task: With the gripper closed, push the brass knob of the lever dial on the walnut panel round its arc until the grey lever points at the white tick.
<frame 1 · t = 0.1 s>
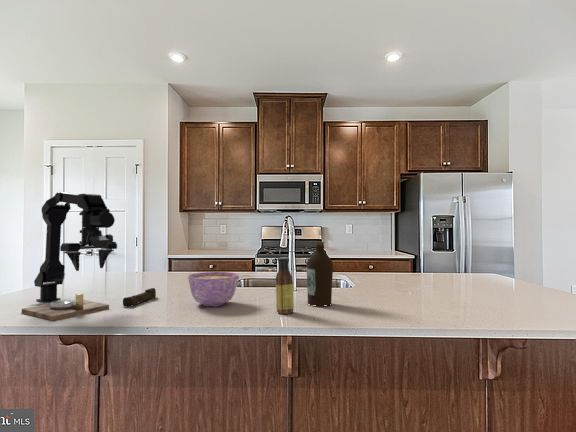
hand: (89, 269, 136), 15 cm above the countertop, tool pointing down, fingers open, 9 cm apart
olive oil: (319, 304, 146), on the countertop
sauce bottle: (284, 313, 132), on the countertop
dial panel: (66, 310, 132), on the countertop
hand tool: (140, 302, 148), on the countertop
dial: (69, 299, 132), point 4 cm above the countertop, hinge at 0.0°
bowl of food: (213, 304, 145), on the countertop
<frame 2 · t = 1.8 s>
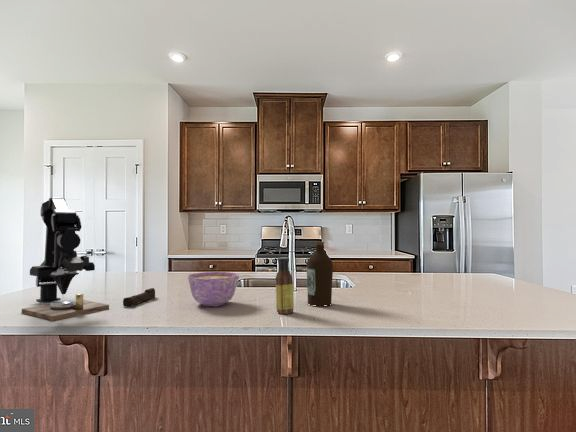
hand: (63, 294, 124), 8 cm above the countertop, tool pointing down, fingers closed
nothing on the countertop moved.
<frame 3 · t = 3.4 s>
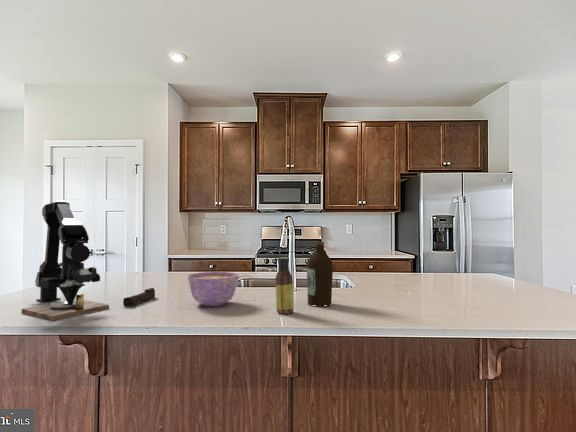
hand: (70, 305, 126), 3 cm above the countertop, tool pointing down, fingers closed
dial: (70, 299, 132), point 4 cm above the countertop, hinge at 0.7°, touching gripper
everything else where it was.
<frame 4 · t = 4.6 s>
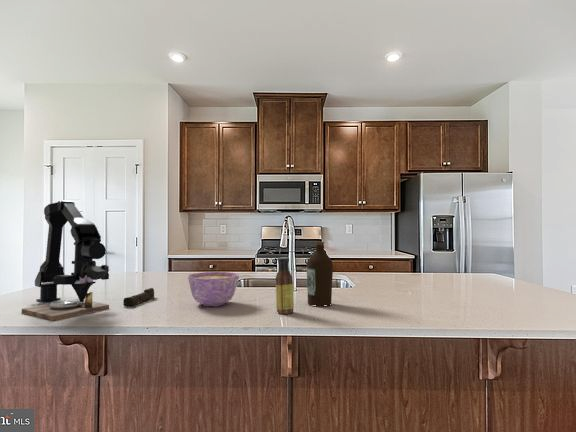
hand: (81, 302, 130), 4 cm above the countertop, tool pointing down, fingers closed
dial: (72, 299, 133), point 4 cm above the countertop, hinge at 29.8°, touching gripper
everything else where it was.
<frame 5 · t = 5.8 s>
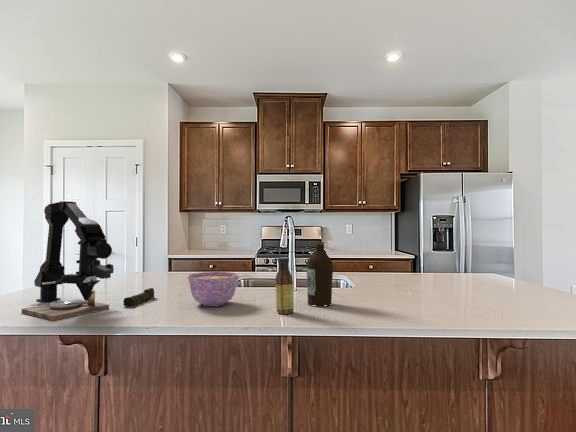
hand: (86, 300, 132), 4 cm above the countertop, tool pointing down, fingers closed
dial: (73, 298, 133), point 4 cm above the countertop, hinge at 49.9°, touching gripper
everything else where it was.
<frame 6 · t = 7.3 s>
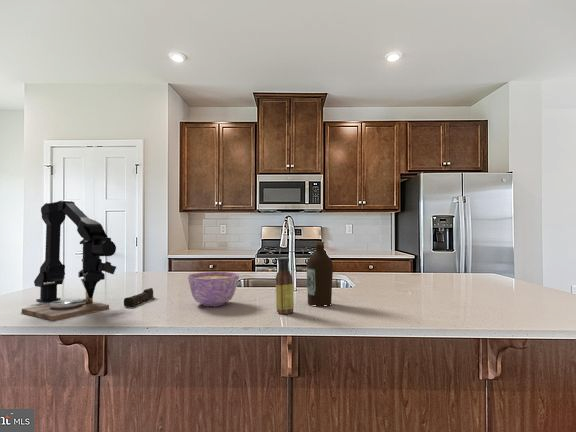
hand: (90, 297, 137), 4 cm above the countertop, tool pointing down, fingers closed
dial: (72, 298, 134), point 4 cm above the countertop, hinge at 84.0°, touching gripper
everything else where it was.
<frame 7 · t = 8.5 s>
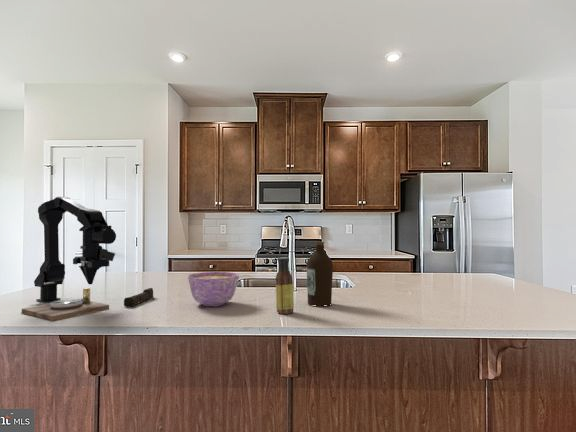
hand: (90, 284, 139), 9 cm above the countertop, tool pointing down, fingers closed
dial: (72, 298, 134), point 4 cm above the countertop, hinge at 96.1°
everything else where it was.
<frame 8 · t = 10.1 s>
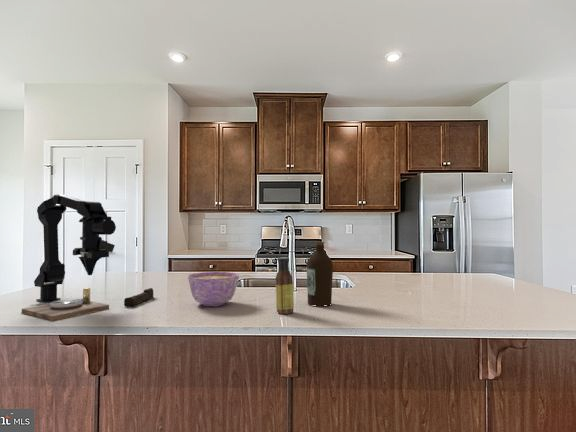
hand: (90, 275, 139), 12 cm above the countertop, tool pointing down, fingers closed
nothing on the countertop moved.
at the end: dial at +96° (first picture: +0°) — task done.
